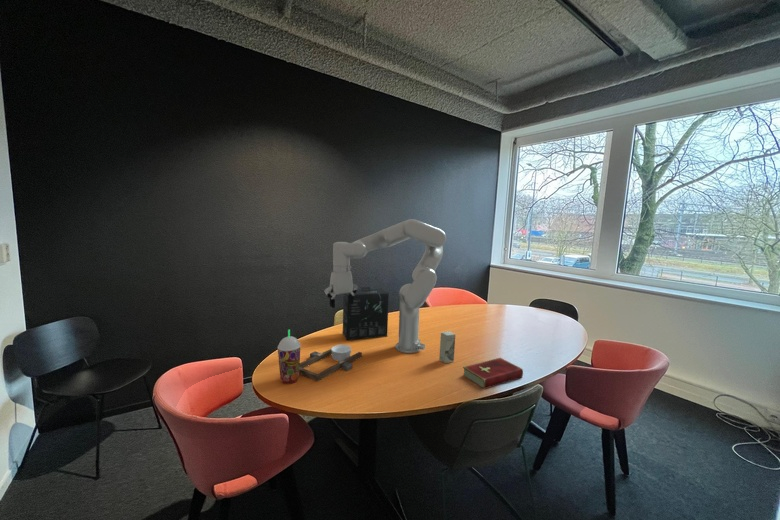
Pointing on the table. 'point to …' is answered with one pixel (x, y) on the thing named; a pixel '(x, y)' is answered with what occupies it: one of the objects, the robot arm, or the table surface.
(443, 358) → the box
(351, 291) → the robot arm
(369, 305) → the headset box
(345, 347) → the ramekin
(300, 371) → the beam track
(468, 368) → the hardcover book
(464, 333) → the table surface
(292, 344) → the smoothie
